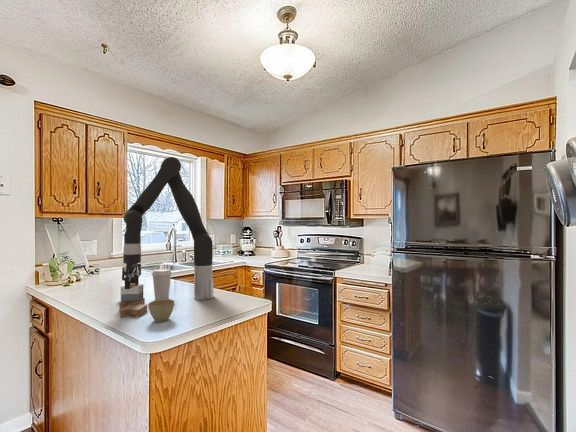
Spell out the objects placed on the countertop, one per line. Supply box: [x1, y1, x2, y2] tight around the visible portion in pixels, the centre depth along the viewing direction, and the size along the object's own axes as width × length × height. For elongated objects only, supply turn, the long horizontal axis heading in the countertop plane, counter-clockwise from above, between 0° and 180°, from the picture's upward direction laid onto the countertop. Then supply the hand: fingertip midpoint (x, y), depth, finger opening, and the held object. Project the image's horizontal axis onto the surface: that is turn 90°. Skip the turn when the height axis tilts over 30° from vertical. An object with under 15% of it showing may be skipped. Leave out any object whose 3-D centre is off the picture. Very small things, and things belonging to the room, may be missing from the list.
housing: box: [120, 283, 144, 302], centre depth 147 cm, size 8×5×8 cm, turn 93°
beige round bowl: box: [147, 299, 175, 323], centre depth 127 cm, size 10×10×7 cm
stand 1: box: [119, 297, 146, 310], centre depth 147 cm, size 8×8×3 cm
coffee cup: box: [151, 268, 172, 301], centre depth 160 cm, size 10×10×15 cm
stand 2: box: [119, 303, 148, 318], centre depth 135 cm, size 8×8×3 cm
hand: (131, 287), depth 147 cm, fingers open, 8 cm apart
